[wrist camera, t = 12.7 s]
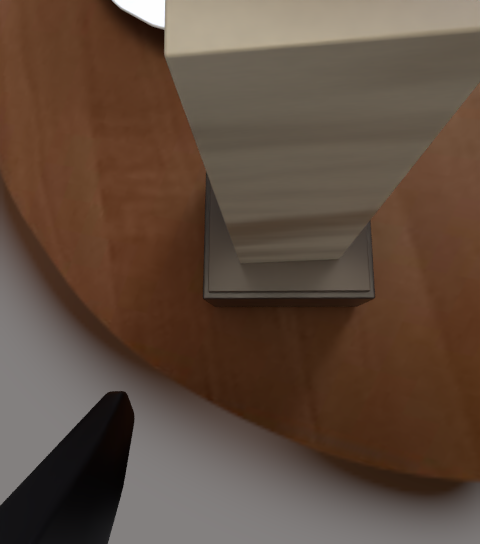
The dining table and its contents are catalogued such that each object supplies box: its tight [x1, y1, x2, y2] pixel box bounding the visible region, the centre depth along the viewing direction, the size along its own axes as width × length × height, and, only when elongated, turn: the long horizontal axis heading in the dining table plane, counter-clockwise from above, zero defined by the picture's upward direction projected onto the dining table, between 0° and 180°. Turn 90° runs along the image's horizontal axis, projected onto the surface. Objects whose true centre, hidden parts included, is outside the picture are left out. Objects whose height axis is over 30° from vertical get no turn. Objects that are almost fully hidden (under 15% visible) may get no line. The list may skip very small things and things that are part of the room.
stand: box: [203, 172, 375, 307], centre depth 20 cm, size 8×8×4 cm
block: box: [164, 0, 480, 263], centre depth 12 cm, size 5×5×13 cm
